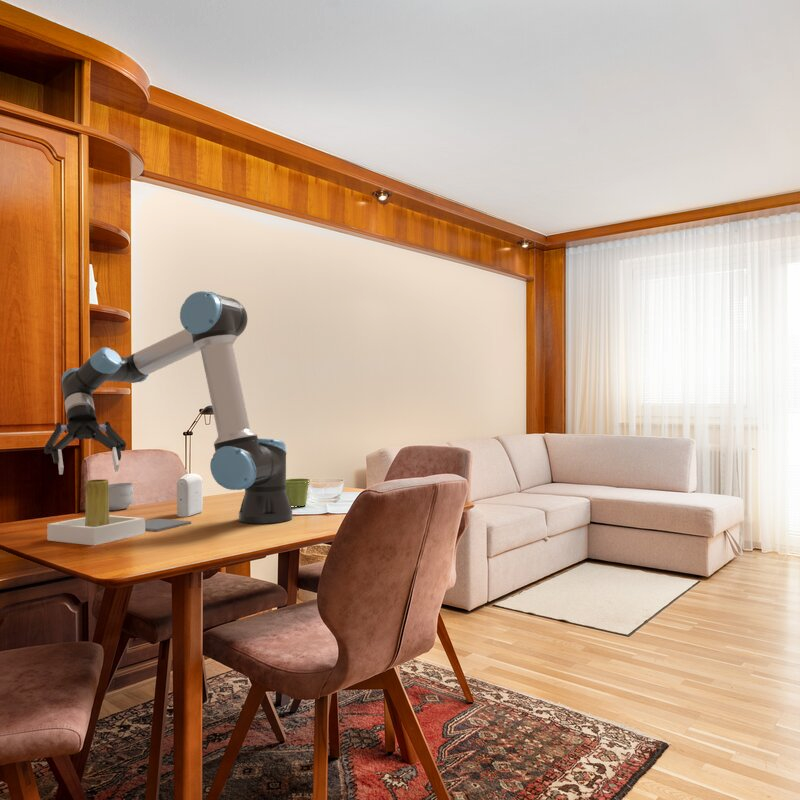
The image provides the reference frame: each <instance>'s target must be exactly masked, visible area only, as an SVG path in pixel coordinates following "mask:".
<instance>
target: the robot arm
mask: <svg viewBox="0 0 800 800" xmlns="http://www.w3.org/2000/svg"><path fill="white" fill-rule="evenodd" d="M179 319H180V323H181V325H182V327H183V328H184V329H182V330H180V331H178V332H176V333H174V334H172V335H170V336H167V337H166V338H163V339H161V340H159V341H157V342H156V343H153V344H151V345H149V346H146V347H145V348H143V349H141V350H139V351H137V352H135V353H132V354H130V355H128V356H120V355H119V353H118V352H117V351H115V350H114V349H111V348H110V347H102V348H101V347H100V348H99V350H97V351H96V352H94V353H92V355H91V356H90V357H89V358H88V359H87V360H86V361H85V362H84V363H83V364H82V365H81V366H80V367H72V368H71V369H66V371H64V372H63V374H62V376H61V390H62V395H63V401H64V408H65V413H66V414H65V415H66V423H67V424H62V423H61V422H56V424H55V429H54V431H53V433H52V434H51V436H50V437H49V438H48V441H47V442H46V444H45V446H44V451H43V453H44V454H45V455H49V454H51V457H52V459H53V460H52V461H53V464H57V465H58V466H57V467H58V474H59V475H63V474H64V467H65V466H64V461H63V453H62V450H63V449H64V448H66V447H67V446H68V445H69V444H70V443H72V442H73V441H75V440H76V439H77V440H91V439H92V440H94V441H96V442H99V444H101V445H103V446H104V447H106V448H107V449H109V450H110V451H111V457H112V462H113V463H112V464H113V468H114V472H119V468H120V461H121V459H122V452H124V451H126V447H127V442H126V441H125V440H124V439H123V438H122V437H121V435H119V434H118V433H117V431H116V430H114V429H113V427H112V426H111V423H110V422H109V421H105V422H104V424H103V423H102V424H100V423H99V422H98V419H97V415H96V409H95V403H94V398H93V393H95V391H96V390H97V389H99V388H100V387H101V386H102V385H103V384H104V383H106V382H117V383H119V382H121V383H130V384H131V383H132V384H135V383H142V382H144V381H145V380H146V379H147V378H148V377H149V375H150V374H152V373H154V372H157V371H158V370H161V369H163V368H166V367H167V366H169V365H172V364H174V363H177V362H178V361H180V360H183V359H184V358H187V357H189V356H191V355H193V354H195V353H198V352H200V353H201V359H202V362H203V368H204V373H205V378H206V382H207V383H206V384H207V388H208V393H209V397H210V401H211V402H210V403H211V408H212V411H213V412H212V413H213V416H214V421H215V426H216V432H217V438H216V439H215V441H214V442H213V447H214V451H215V452H214V453H213V455H212V457H211V459H210V464H209V467H210V472H211V475H212V478H213V479H214V481H215V482H216V483H217V484H218V485H220V486H221V488H224V489H227V490H230V491H236V490H237V491H242V490H244V495H243V499H242V501H241V504H240V509H239V511H238V521H239V522H241V523H247V524H275V523H282V522H287V521H291V520H293V508H291V506H290V503H289V500H288V497H287V494H286V479H287V450H286V449H287V448H286V444H285V441H283V440H279V439H273V438H271V439H270V438H258V434H256V433H255V432H254V431H252V430H251V428H250V422H249V418H248V412H247V408H246V404H245V397H244V395H243V388H242V384H241V379H240V375H239V370H238V365H237V359H236V355H235V350H234V346H233V345H234V343H235V342H236V340H237V339H238V337H240V335H242V333H244V332H245V330H246V328H247V325H248V320H249V319H248V313H247V311H246V308H245V307H244V305H243V304H242V303H241V302H240V301H238V300H237V299H234V298H232V297H228V296H224V295H220V294H217V293H216V292H213V291H203V290H202V291H201V290H200V291H196V292H193V293H191V294H190V295H188V296H187V297H186V298H185V300H184V302H183V303H182V305H181V307H180V310H179ZM65 431H66V432H67V434H65V436H64V437H62V438H61V439H60V440H59V441H58V439H59V438H60V437H61V434H63V433H64V432H65ZM104 433H105V434H104ZM57 441H58V442H57ZM121 451H122V452H121Z"/></svg>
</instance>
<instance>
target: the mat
mask: <svg viewBox="0 0 800 800" xmlns="http://www.w3.org/2000/svg"><path fill="white" fill-rule="evenodd" d="M190 524H192V521H191V520H189V521H188V520H178V519H176V520H175V519H166V518H152V519H145V532H146V531H148V532H160V531H164V530H169V529H174V528H178V527H182V526H187V525H190Z"/></svg>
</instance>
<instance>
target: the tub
mask: <svg viewBox="0 0 800 800" xmlns="http://www.w3.org/2000/svg"><path fill="white" fill-rule="evenodd" d="M145 521H146V518H145V517H135V516H121V515H111V514H109V523H110V524H108V525H103V526H98V527H88V526H85V516H83V517H79V518H73V519H68V520H61V521H57V522H51V523H47V524H46V525H47V529H46V530H47V531H46V532H47V533H46V535H47V538H46V540H47V541H50V542H51V541H52V542H59V543H67V544H77V545H78V544H79V545H87V546H98V545H102V544H106V543H111V542H116V541H120V540H125V539H128V538H133V537H138V536H141V535H145V534H146V530H145Z"/></svg>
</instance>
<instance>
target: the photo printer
mask: <svg viewBox="0 0 800 800" xmlns="http://www.w3.org/2000/svg"><path fill="white" fill-rule="evenodd" d="M203 491H204V489H203V478H202V476H201V475H199V474H197V473H186V474H183V476H181V477H180V478H179V479H178V480H177V483H176V509H177V510H176V516H177V517H179V518H188V517H189V516H194V515H196V514H200V513H202V512H203V511H204V510H203V509H204V507H203V506H204V502H203V501H204V499H203V498H204V497H203V495H204V494H203Z"/></svg>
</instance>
